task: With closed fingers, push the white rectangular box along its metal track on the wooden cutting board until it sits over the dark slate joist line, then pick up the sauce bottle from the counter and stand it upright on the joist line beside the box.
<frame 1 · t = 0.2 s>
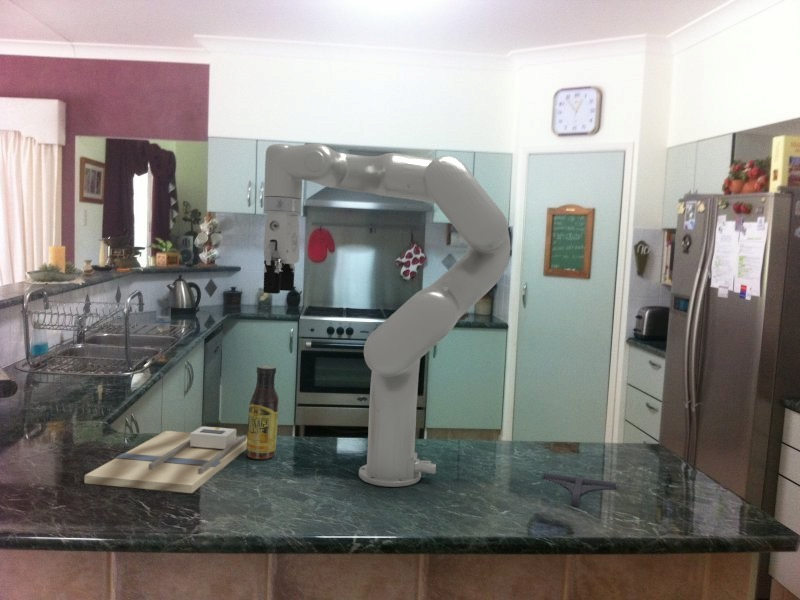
hand: (279, 291, 137), 36 cm above the counter, tool pointing down, fingers open, 9 cm apart
bracket: (576, 497, 132), on the counter
wooden cutting board: (177, 461, 140), on the counter
sauce bottle: (261, 457, 146), on the counter
white rectangular box: (213, 437, 147), point 3 cm above the counter, slide at 0.0 cm
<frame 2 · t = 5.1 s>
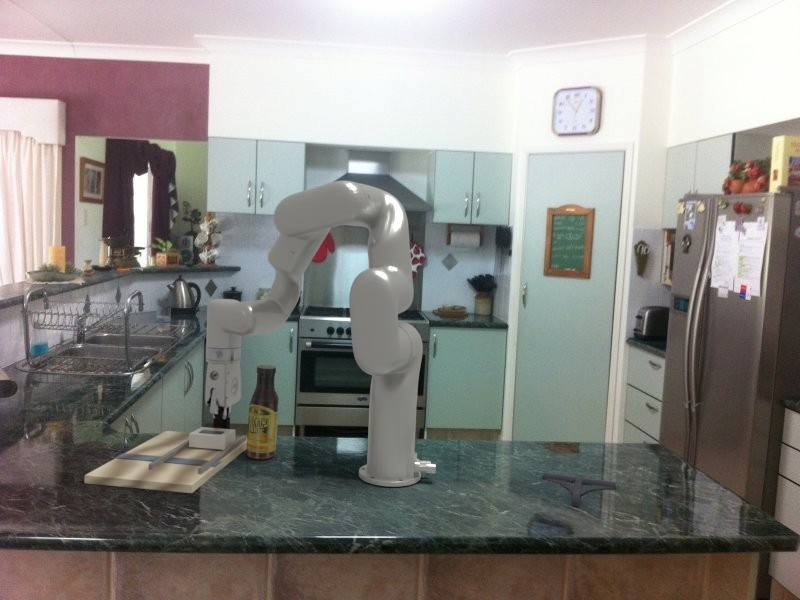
hand: (221, 434, 151), 3 cm above the counter, tool pointing down, fingers closed
white rectangular box: (212, 437, 146), point 3 cm above the counter, slide at 0.5 cm, touching gripper
everything else where it was.
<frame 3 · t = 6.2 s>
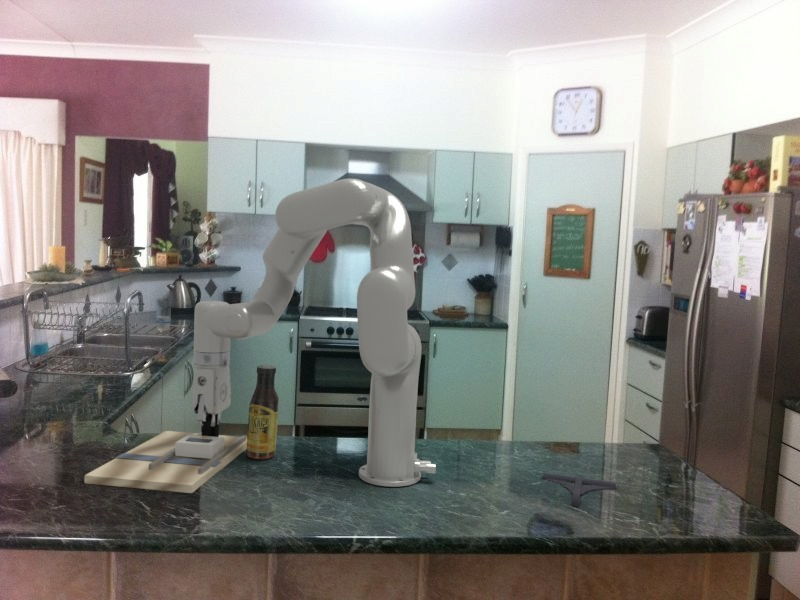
hand: (209, 442, 145), 3 cm above the counter, tool pointing down, fingers closed
white rectangular box: (200, 446, 140), point 3 cm above the counter, slide at 6.9 cm, touching gripper
everything else where it was.
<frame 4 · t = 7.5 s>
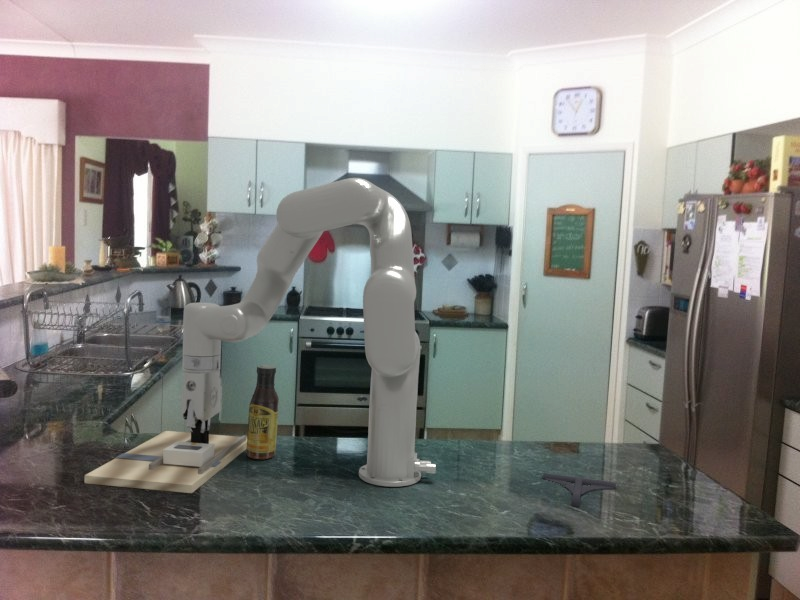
hand: (199, 449, 140), 3 cm above the counter, tool pointing down, fingers closed
white rectangular box: (189, 453, 135), point 3 cm above the counter, slide at 12.1 cm, touching gripper
everything else where it was.
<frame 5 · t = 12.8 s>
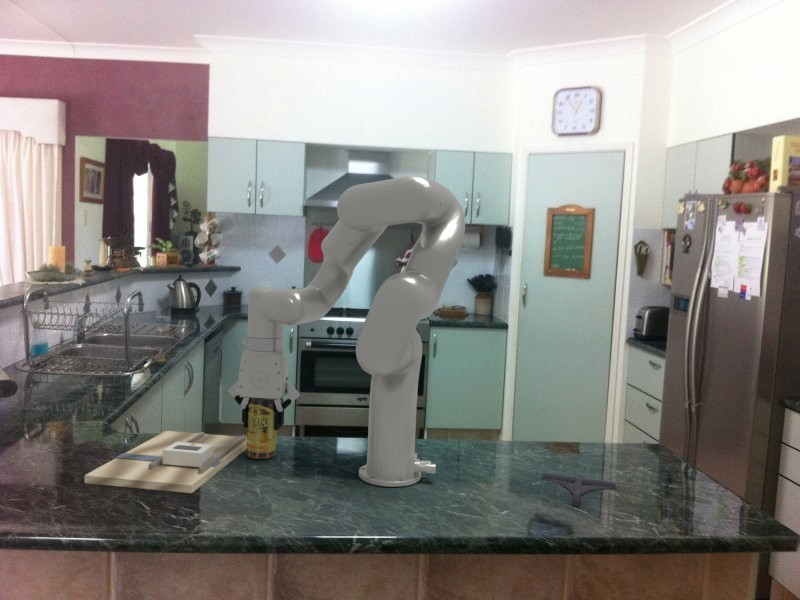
hand: (262, 426, 145), 7 cm above the counter, tool pointing down, fingers closed on sauce bottle, 6 cm apart
sauce bottle: (261, 457, 146), on the counter, touching gripper
white rectangular box: (188, 453, 135), point 3 cm above the counter, slide at 12.4 cm
everything else where it was.
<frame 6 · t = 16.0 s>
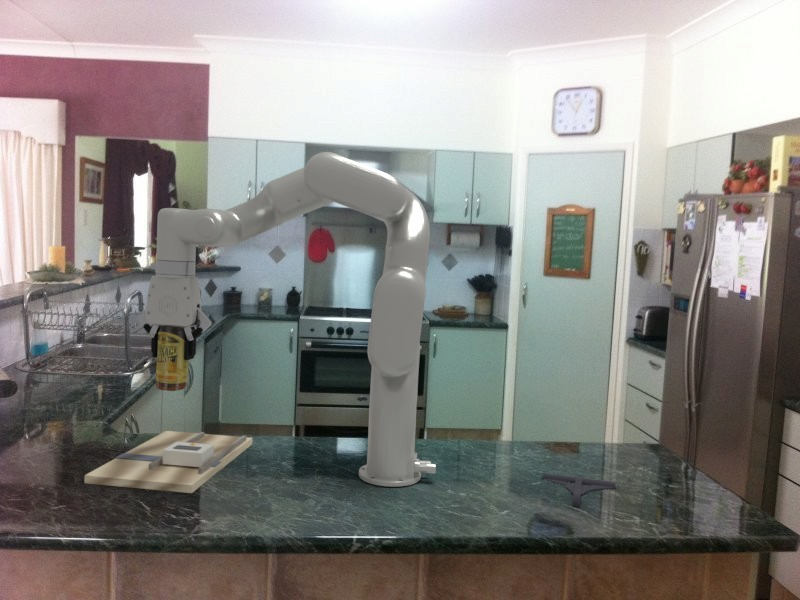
hand: (173, 357, 137), 22 cm above the counter, tool pointing down, fingers closed on sauce bottle, 6 cm apart
sauce bottle: (172, 389, 138), point 15 cm above the counter, touching gripper
everything else where it was.
when the fingers open (9 cm above the counter, at t = 19.3 s): sauce bottle stays where it is, resting on wooden cutting board.
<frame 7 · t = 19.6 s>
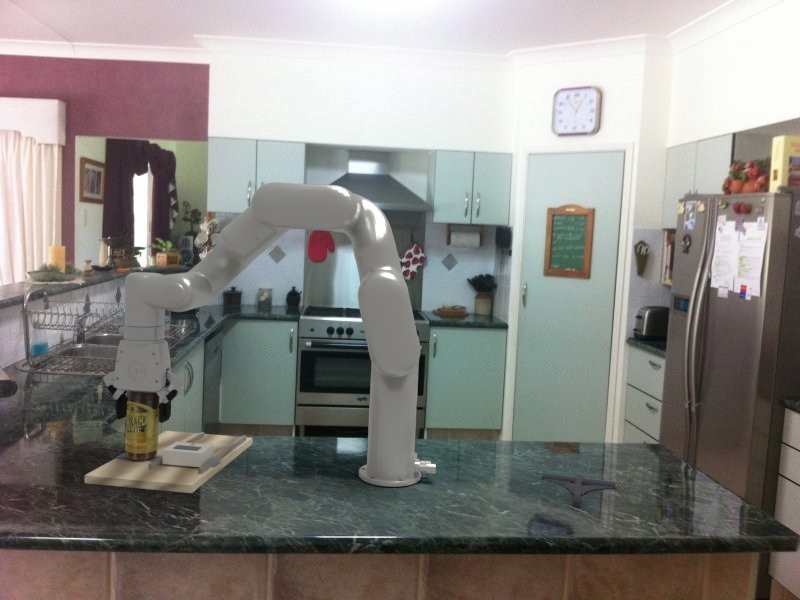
hand: (143, 419, 136), 10 cm above the counter, tool pointing down, fingers open, 8 cm apart
sauce bottle: (142, 458, 136), point 1 cm above the counter, touching wooden cutting board
everything else where it was.
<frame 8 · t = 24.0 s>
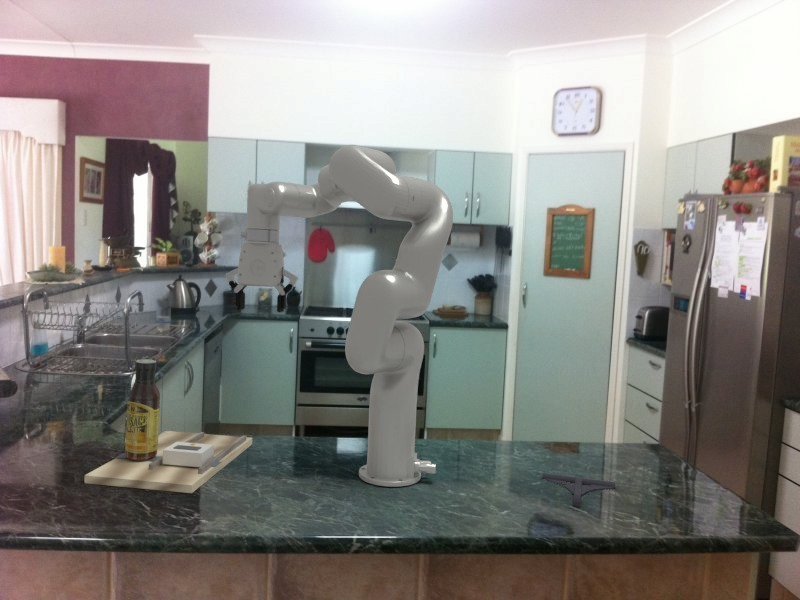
hand: (260, 310, 158), 30 cm above the counter, tool pointing down, fingers open, 9 cm apart
nothing on the counter moved.
at the end: white rectangular box slide at 12.4 cm; sauce bottle 0.1 cm from the target spot, point 1.5 cm above the counter; sauce bottle tilted 0° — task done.
